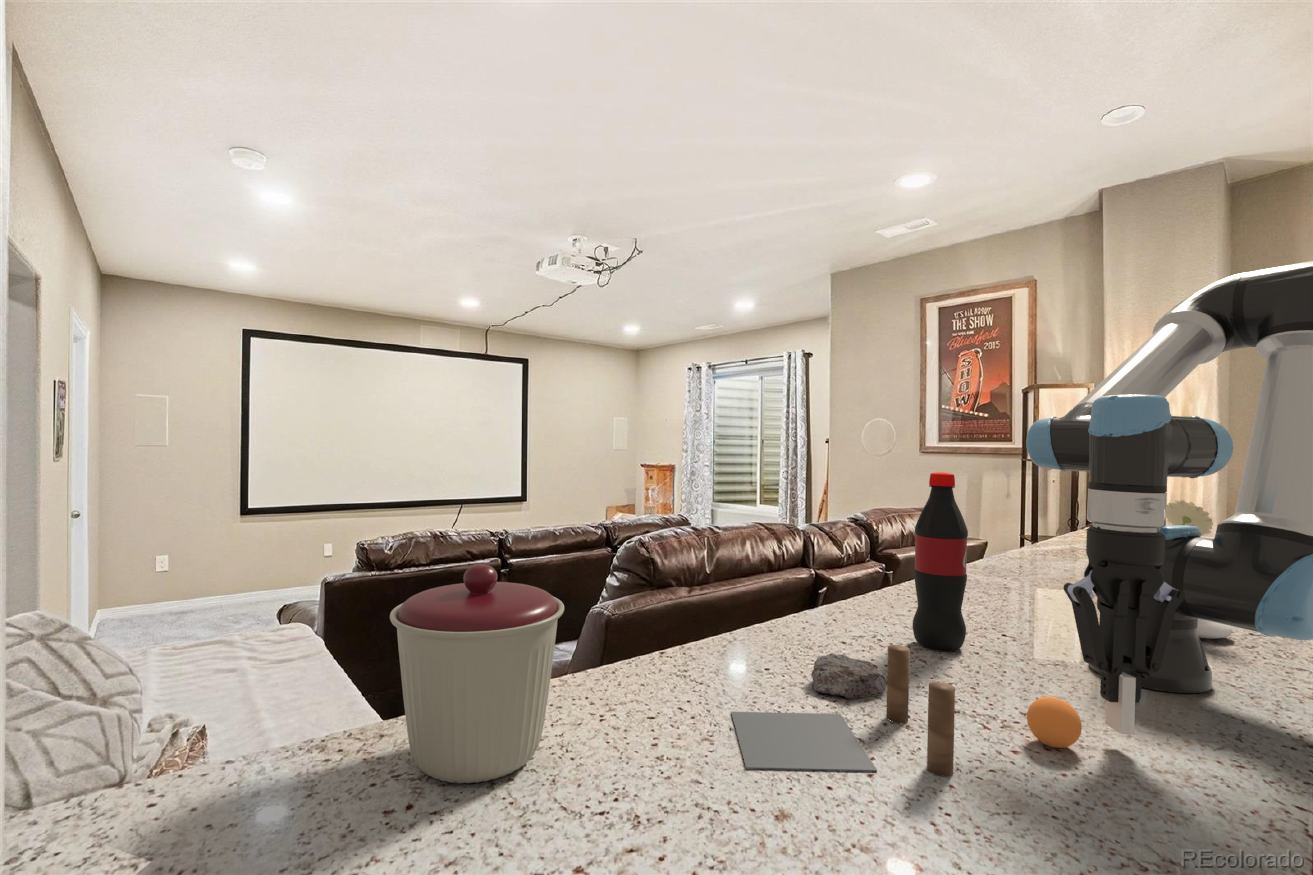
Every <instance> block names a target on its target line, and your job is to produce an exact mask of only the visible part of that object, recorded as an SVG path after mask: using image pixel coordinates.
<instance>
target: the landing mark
mask: <svg viewBox="0 0 1313 875" xmlns="http://www.w3.org/2000/svg"><path fill="white" fill-rule="evenodd" d="M731 716H732V717H733V718H732V721H734V722H733V725H735V726H734V728H736V729H735V733H736V732H737V733H736V736H737V740H739V741H738V743H739V744H740V745H739V744H738V745H739V747H741V748H740V751H742V752H741V755H743V756H742V760H743V759H744V760H743V763H745V764H744V767H745V770H761V769H774V770H773V771H776V769H779V770H778V771H809V770H826V771H825V772H856V771H877V772H878V769H877V768H876V766H875V765H874V763H873V761H872V760H871V758H870V757H869V755H868V754H867V751H865V748H863V746H862V744H861V743H860V742H859V740H858V739H857V737H856V735H855V734H854V732H853V731H852V729H851V727H850V726H849V725H848V723H847V721H846V720H845V719H844V717H843V716H842V714H841V713H814V712H813V713H812V712H810V713H808V712H771V711H770V712H769V711H768V712H767V711H766V712H765V711H764V712H763V711H762V712H761V711H760V712H759V711H758V712H757V711H731ZM828 770H829V771H828ZM832 770H833V771H832ZM836 770H837V771H836ZM840 770H842V771H840ZM844 770H846V771H844Z"/></svg>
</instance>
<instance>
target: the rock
mask: <svg viewBox="0 0 1313 875" xmlns="http://www.w3.org/2000/svg"><path fill="white" fill-rule="evenodd" d="M813 664H814V665H813V670H811V677H812V683H813V684H812V686H813V689H814V691H815V692H817V693H821V694H828V695H832V696H833V695H834V696H836V695H837V696H839V697H841V696H843V697H845V698H846V699H850V700H855V698H856V699H860V698H862V697H863V698H866V696H867V697H873V696H879V695H878V694H880V695H882V694H883V693H884V692H885V691H886V690H887V677H885V675H884V674H883V672H882V671H881V670H880V669H879V667H878V666H877V665H876V664H874V663H873V662H870V661H868V660H864V659H863V660H862V659H857V658H852V657H848V656H847V655H846V654H835V653H828V654H826V655H819V656H818V657H817V658H816V660H815V661H814V663H813Z"/></svg>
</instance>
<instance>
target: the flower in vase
mask: <svg viewBox="0 0 1313 875" xmlns="http://www.w3.org/2000/svg"><path fill="white" fill-rule="evenodd" d="M1166 520H1167V521H1168V523H1169V524H1171V525H1187V526H1197V527H1198V528H1199V530H1200V532H1201V533H1202V534H1201V537H1202V536H1205V535H1209V534H1211V533H1212V531H1211V530H1212V529H1213V527H1212V526H1213V525H1214V522H1213V519H1212V517H1210V513H1209V512H1208V511H1206V510H1204V508H1203V506H1202V507H1201V506H1196V504H1195V502H1192V501H1189V502H1186V501H1185V500H1184V499H1181V500H1175V501H1174V502H1168V504H1167V505H1166ZM1197 628H1198V635H1199V638H1200V639H1212V640H1213V639H1224V638H1229V637H1230V636H1231V635H1232V634H1233V633H1234V632H1233V630H1232V626H1230V625H1225V624H1221V623H1216V622H1212V621H1207V620H1203V619H1199V618H1198V626H1197Z"/></svg>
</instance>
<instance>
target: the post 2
mask: <svg viewBox="0 0 1313 875" xmlns="http://www.w3.org/2000/svg"><path fill="white" fill-rule="evenodd" d="M927 699H928V700H927V701H928V702H927V744H926V745H927V746H926V748H927V751H926V769H927V771H929V772H930V773H932V774H933V775H936V776H940V777H951V776H952V775H953V774H954V759H955V758H954V753H955V752H954V749H955V706H956V704H955V703H956V687H955V686H954V685H952V684H950V683H946V682H942V681H932V682H929V683H928V698H927Z"/></svg>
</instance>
